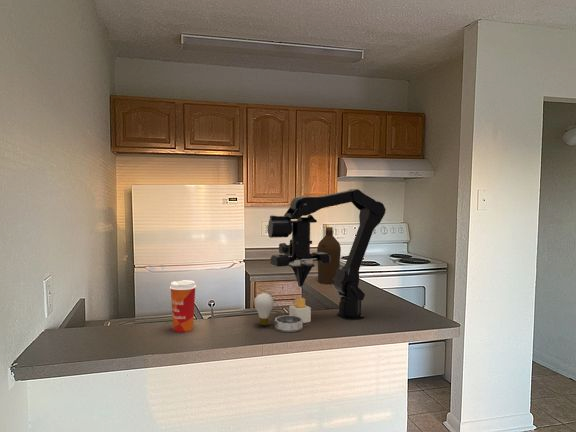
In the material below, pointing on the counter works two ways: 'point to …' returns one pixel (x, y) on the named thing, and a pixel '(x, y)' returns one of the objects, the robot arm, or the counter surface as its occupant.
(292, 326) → the grey round shallow bowl
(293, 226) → the robot arm
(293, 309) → the white jar
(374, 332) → the counter surface
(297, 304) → the breaker button
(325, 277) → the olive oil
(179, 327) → the paper cup
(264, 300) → the light bulb
